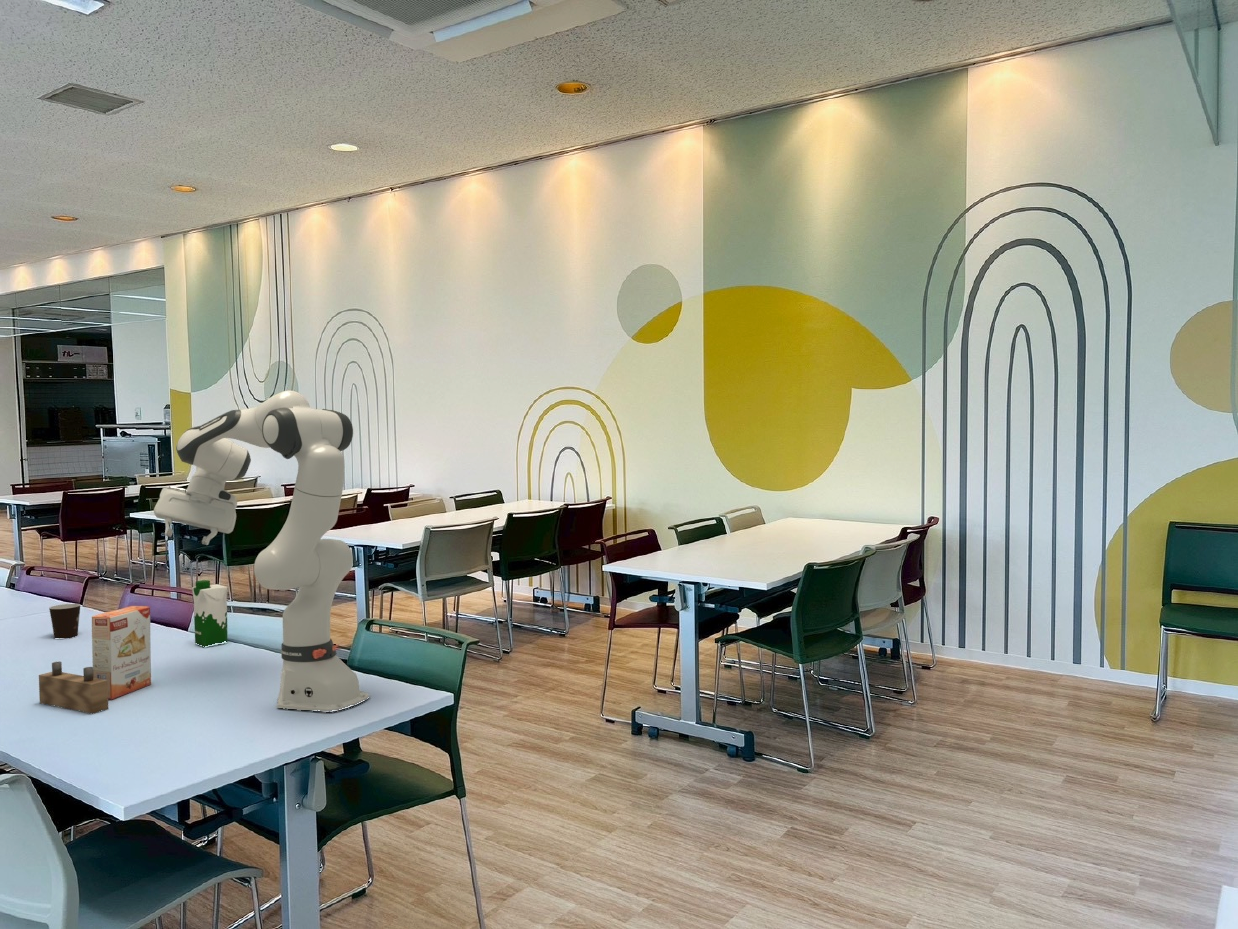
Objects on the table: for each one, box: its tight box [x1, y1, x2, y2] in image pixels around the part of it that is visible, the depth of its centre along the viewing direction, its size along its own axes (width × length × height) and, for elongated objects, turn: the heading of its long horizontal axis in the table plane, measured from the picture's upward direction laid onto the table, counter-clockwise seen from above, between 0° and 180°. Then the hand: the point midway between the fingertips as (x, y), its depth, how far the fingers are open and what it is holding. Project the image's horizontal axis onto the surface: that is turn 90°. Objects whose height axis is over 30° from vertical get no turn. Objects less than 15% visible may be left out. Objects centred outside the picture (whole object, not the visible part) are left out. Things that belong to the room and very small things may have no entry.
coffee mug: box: [49, 603, 81, 639], centre depth 291 cm, size 12×9×10 cm
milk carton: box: [191, 579, 229, 648], centre depth 278 cm, size 9×9×20 cm
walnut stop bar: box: [38, 661, 109, 715], centre depth 216 cm, size 20×4×10 cm, turn 64°
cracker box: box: [91, 605, 152, 700], centre depth 227 cm, size 14×6×21 cm, turn 168°
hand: (186, 539), depth 238 cm, fingers open, 8 cm apart
